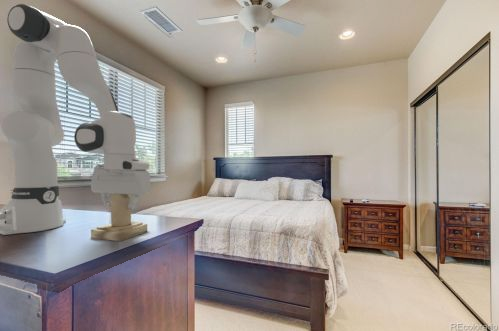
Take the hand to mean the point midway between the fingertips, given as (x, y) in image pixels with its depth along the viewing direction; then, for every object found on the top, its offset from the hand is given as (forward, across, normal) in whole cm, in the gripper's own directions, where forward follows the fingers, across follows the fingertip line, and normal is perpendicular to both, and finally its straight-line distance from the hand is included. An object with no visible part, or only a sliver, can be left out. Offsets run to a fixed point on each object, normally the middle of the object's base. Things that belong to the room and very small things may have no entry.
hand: (119, 208), depth 78 cm
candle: (+5, 0, 0) cm, 5 cm away
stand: (+8, 0, 0) cm, 8 cm away
